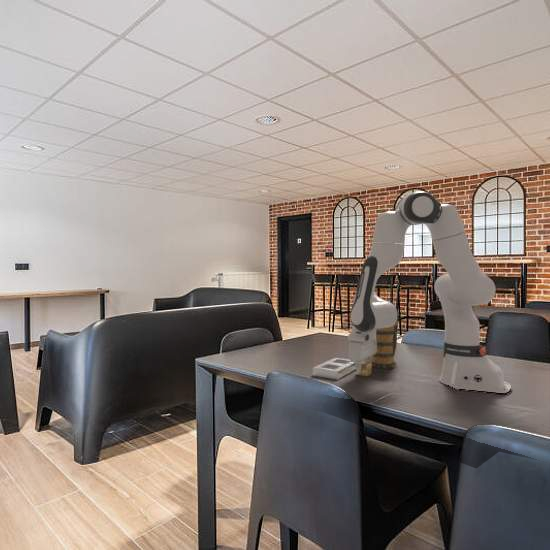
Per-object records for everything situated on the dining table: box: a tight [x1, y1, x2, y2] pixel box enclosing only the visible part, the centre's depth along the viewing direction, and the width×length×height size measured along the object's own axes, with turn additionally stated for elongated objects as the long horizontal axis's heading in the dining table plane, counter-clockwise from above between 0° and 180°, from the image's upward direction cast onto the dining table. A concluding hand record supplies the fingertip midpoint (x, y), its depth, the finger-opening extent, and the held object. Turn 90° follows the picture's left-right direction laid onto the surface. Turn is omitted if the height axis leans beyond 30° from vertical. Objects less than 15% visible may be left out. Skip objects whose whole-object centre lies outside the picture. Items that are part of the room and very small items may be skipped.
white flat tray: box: [312, 357, 356, 381], centre depth 159 cm, size 10×20×3 cm, turn 147°
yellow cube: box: [355, 360, 373, 377], centre depth 156 cm, size 4×4×4 cm
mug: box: [371, 321, 399, 370], centre depth 171 cm, size 13×17×20 cm
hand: (363, 369), depth 156 cm, fingers open, 8 cm apart
